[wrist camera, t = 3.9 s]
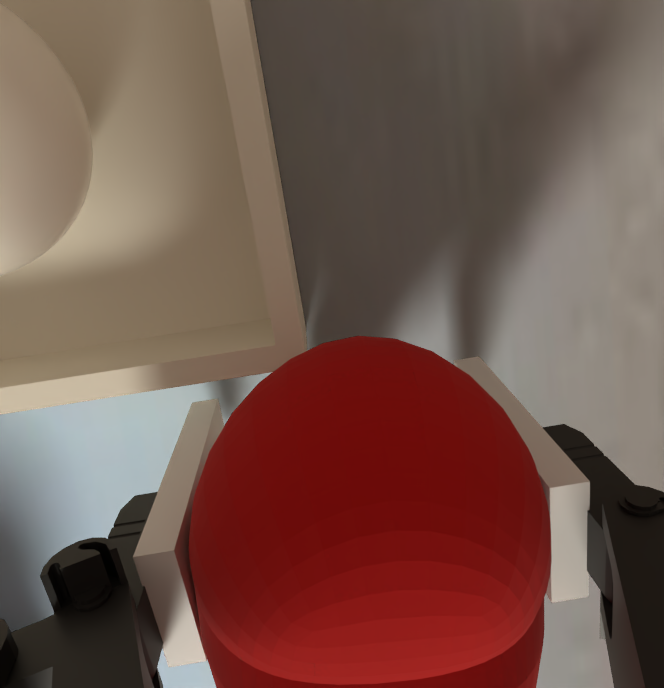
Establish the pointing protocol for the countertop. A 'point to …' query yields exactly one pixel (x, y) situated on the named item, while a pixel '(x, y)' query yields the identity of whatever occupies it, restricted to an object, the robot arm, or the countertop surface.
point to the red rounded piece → (370, 529)
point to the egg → (38, 145)
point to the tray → (157, 213)
